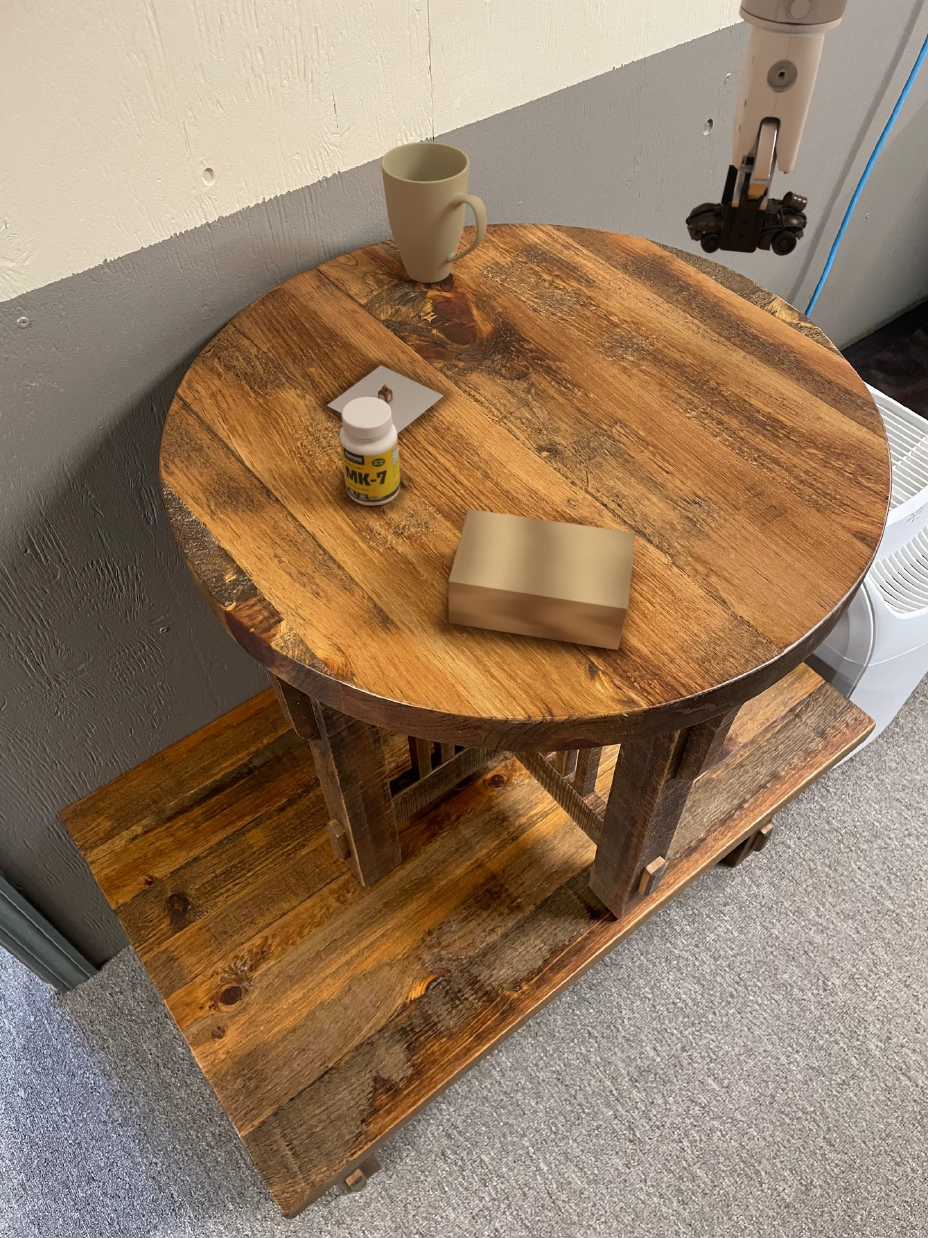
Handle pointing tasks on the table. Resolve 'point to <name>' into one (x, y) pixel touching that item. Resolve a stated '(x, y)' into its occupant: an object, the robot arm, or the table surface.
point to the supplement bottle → (369, 451)
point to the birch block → (541, 578)
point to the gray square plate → (391, 395)
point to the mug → (429, 206)
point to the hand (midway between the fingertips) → (737, 228)
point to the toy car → (776, 229)
